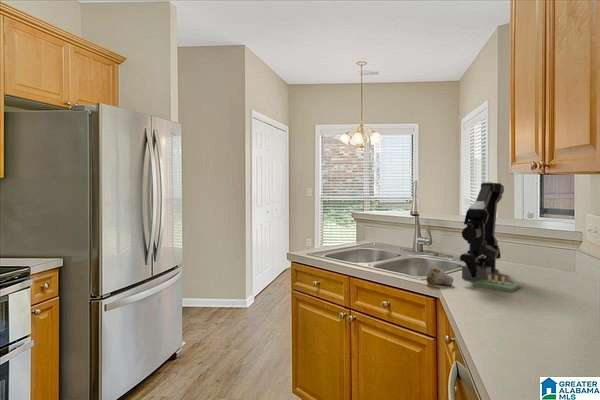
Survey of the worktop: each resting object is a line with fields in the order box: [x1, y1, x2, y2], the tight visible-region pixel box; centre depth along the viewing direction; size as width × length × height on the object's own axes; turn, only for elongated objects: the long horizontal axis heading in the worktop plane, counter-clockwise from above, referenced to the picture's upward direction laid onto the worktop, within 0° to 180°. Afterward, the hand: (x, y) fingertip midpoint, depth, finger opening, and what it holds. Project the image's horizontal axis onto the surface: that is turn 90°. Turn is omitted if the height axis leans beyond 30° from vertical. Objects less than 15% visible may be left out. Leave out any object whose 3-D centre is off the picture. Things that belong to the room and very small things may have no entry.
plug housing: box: [461, 264, 492, 281], centre depth 188 cm, size 5×10×5 cm, turn 46°
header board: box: [472, 274, 521, 293], centre depth 175 cm, size 9×14×4 cm, turn 46°
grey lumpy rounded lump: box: [426, 265, 454, 287], centre depth 180 cm, size 8×10×10 cm
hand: (476, 276), depth 188 cm, fingers open, 5 cm apart
